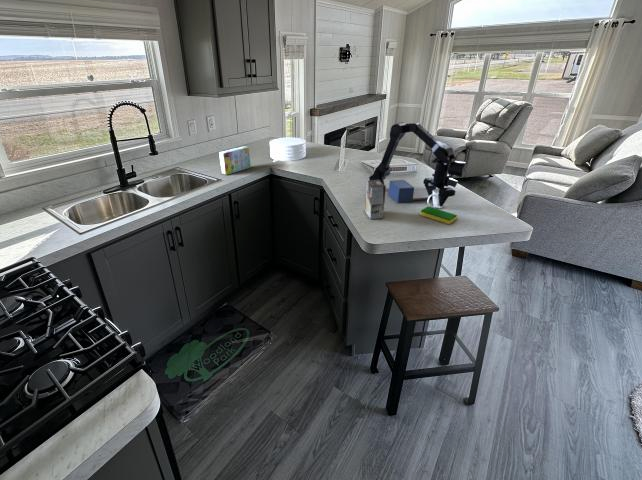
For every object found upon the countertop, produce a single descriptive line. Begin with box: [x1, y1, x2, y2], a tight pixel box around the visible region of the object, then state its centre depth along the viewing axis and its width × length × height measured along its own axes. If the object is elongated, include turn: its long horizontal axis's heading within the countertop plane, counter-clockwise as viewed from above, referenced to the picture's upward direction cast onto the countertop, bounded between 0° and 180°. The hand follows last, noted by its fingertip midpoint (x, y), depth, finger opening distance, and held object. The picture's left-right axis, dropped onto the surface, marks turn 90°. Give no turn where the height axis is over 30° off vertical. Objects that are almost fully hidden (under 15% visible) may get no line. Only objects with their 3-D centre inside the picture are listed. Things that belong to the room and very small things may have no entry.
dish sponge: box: [419, 205, 458, 225], centre depth 152 cm, size 7×14×2 cm, turn 41°
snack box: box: [218, 145, 252, 176], centre depth 223 cm, size 21×6×15 cm, turn 134°
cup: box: [426, 188, 444, 209], centre depth 161 cm, size 7×10×8 cm
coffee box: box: [364, 180, 387, 220], centre depth 153 cm, size 9×6×16 cm
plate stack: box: [269, 136, 307, 162], centre depth 255 cm, size 28×28×12 cm
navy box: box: [388, 179, 438, 204], centre depth 173 cm, size 25×13×8 cm, turn 97°
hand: (435, 202), depth 162 cm, fingers open, 9 cm apart
